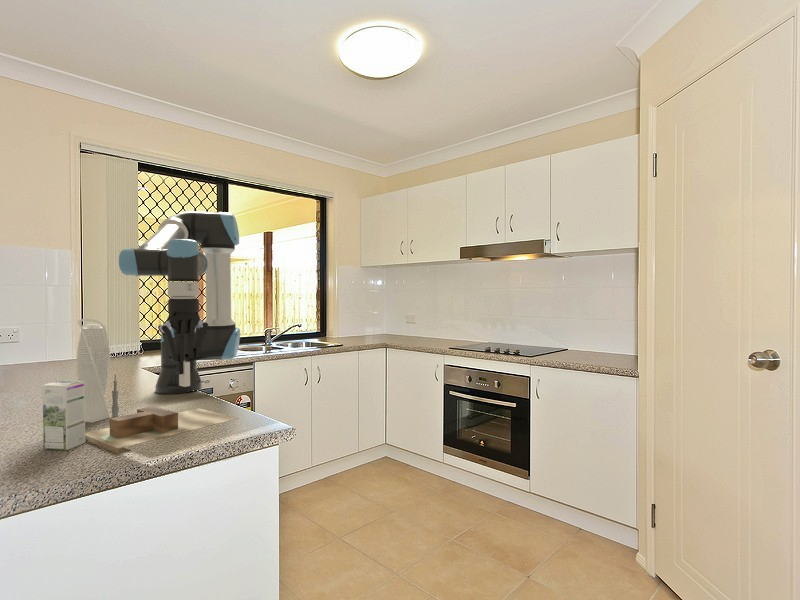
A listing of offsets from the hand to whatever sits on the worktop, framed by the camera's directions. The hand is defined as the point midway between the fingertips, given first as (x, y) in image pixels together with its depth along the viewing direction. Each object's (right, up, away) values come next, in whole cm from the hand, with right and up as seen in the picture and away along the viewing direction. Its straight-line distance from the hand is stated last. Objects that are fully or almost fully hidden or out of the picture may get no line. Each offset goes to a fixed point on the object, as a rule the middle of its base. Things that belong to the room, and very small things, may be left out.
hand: (184, 385), depth 122 cm
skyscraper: (-23, -10, -1) cm, 25 cm away
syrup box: (-18, -10, -20) cm, 28 cm away
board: (-2, -10, -7) cm, 12 cm away
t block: (-5, -9, -12) cm, 16 cm away
